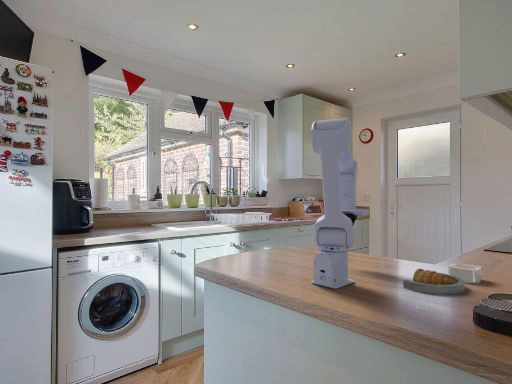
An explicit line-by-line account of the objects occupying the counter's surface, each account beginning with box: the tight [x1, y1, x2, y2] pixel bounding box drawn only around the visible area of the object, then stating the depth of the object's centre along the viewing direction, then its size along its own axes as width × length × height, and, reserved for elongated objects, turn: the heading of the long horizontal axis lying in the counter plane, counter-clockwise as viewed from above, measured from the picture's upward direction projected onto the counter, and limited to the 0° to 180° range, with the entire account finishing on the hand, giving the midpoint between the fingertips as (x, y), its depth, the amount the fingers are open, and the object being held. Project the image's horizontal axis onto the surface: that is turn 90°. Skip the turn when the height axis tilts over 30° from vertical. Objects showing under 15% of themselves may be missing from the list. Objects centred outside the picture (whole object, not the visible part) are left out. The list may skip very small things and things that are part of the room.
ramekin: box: [448, 263, 483, 284], centre depth 90 cm, size 7×7×4 cm
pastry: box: [412, 268, 455, 285], centre depth 85 cm, size 9×7×4 cm
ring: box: [402, 271, 465, 296], centre depth 83 cm, size 15×12×2 cm
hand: (347, 236), depth 108 cm, fingers closed
